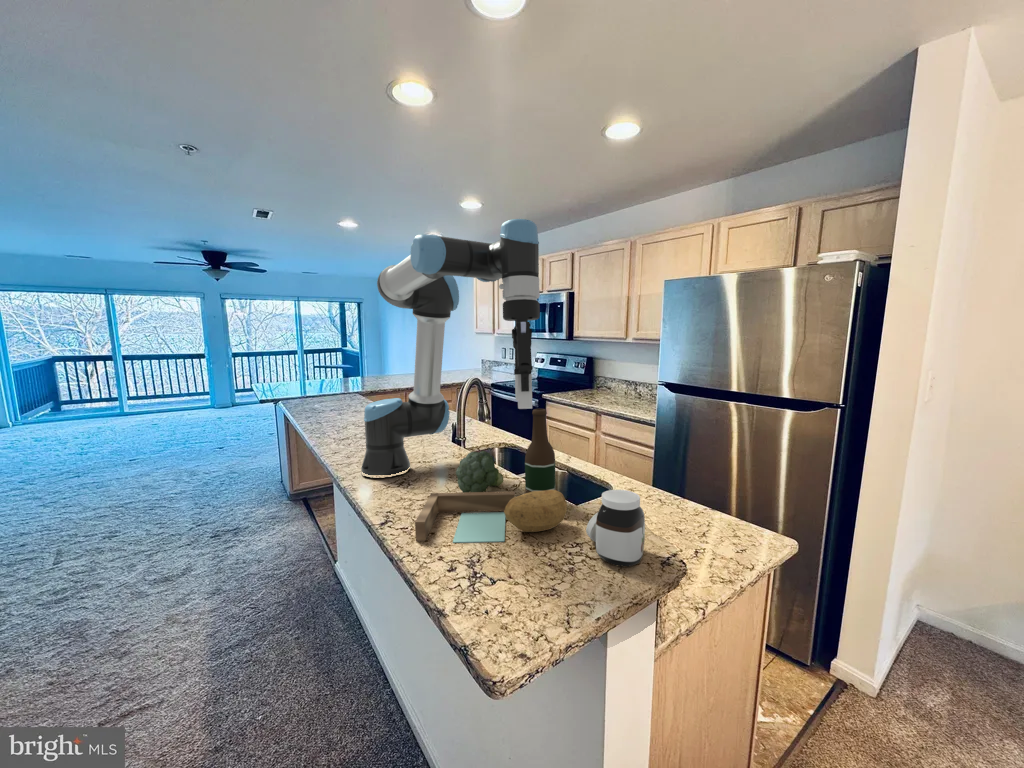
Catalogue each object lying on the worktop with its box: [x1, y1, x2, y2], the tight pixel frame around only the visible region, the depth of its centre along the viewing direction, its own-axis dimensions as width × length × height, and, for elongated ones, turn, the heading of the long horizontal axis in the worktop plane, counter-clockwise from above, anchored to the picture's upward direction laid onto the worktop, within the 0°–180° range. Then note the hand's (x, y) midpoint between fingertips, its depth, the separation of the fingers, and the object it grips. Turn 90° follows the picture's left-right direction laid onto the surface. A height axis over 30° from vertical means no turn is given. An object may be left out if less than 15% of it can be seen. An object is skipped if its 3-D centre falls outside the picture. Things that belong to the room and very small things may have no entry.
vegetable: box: [455, 450, 504, 493], centre depth 110 cm, size 12×13×15 cm
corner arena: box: [414, 491, 516, 542], centre depth 90 cm, size 16×20×4 cm
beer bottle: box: [524, 408, 557, 494], centre depth 99 cm, size 8×8×24 cm
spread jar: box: [585, 489, 646, 567], centre depth 76 cm, size 12×11×12 cm
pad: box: [452, 511, 506, 544], centre depth 88 cm, size 14×10×1 cm
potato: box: [503, 490, 568, 533], centre depth 86 cm, size 10×14×8 cm
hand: (523, 404), depth 83 cm, fingers open, 13 cm apart
